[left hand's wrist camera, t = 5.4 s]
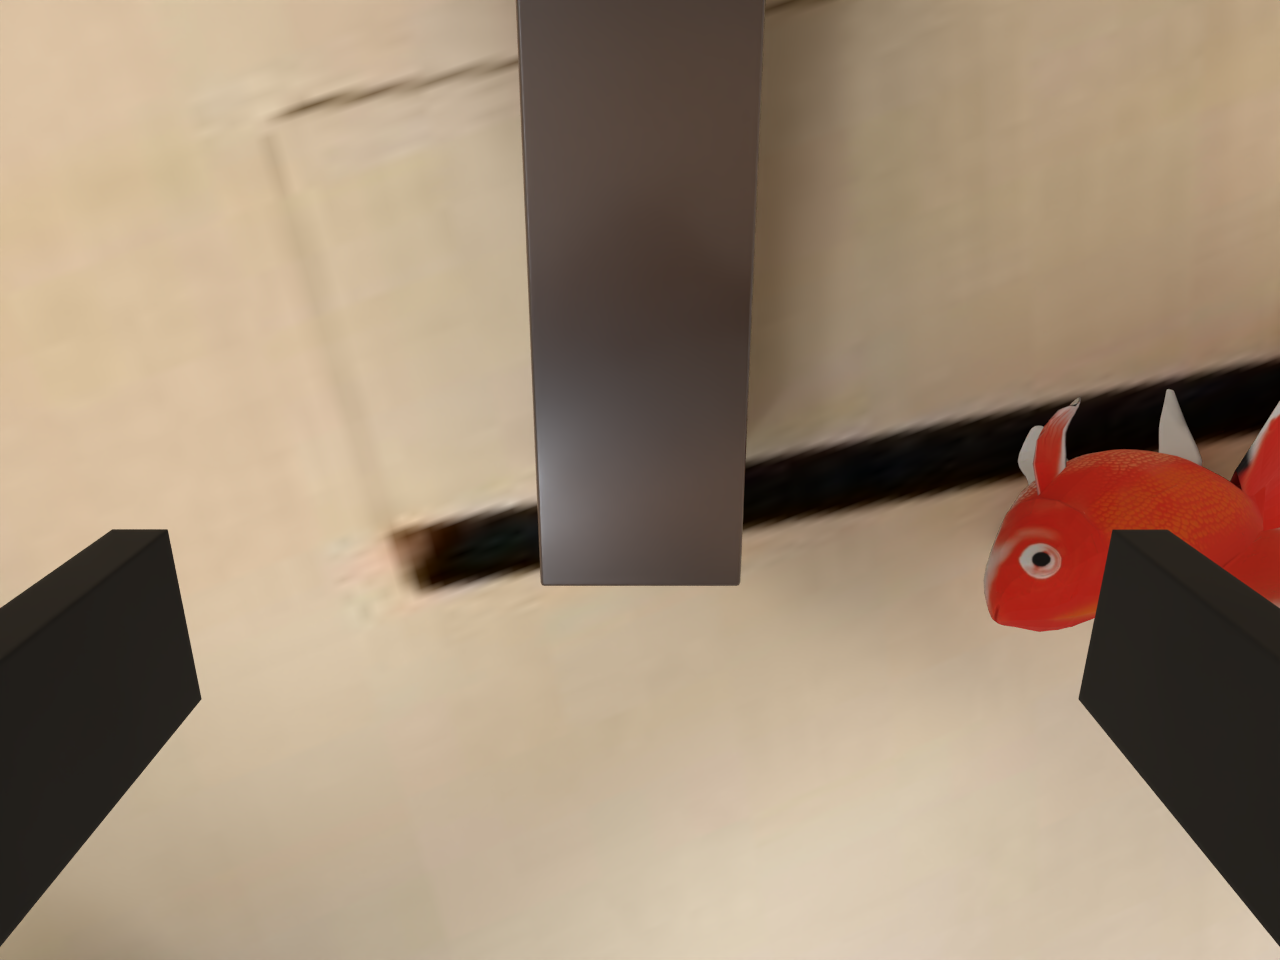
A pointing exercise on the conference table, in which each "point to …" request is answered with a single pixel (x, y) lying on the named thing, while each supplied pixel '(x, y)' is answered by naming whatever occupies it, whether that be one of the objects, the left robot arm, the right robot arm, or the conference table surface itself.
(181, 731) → the conference table surface
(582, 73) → the plank
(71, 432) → the conference table surface
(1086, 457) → the fish
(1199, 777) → the left robot arm
